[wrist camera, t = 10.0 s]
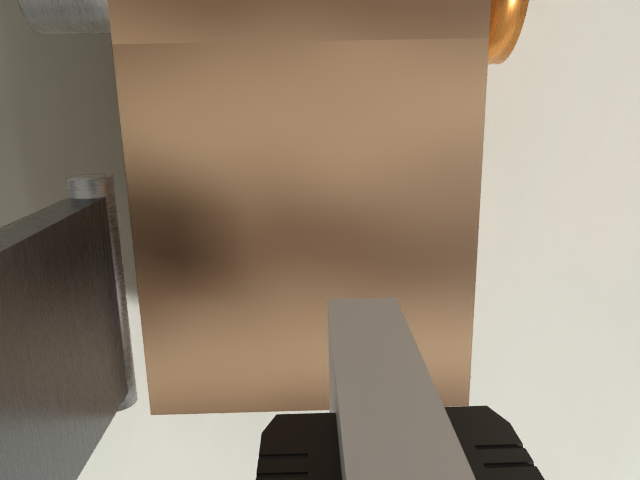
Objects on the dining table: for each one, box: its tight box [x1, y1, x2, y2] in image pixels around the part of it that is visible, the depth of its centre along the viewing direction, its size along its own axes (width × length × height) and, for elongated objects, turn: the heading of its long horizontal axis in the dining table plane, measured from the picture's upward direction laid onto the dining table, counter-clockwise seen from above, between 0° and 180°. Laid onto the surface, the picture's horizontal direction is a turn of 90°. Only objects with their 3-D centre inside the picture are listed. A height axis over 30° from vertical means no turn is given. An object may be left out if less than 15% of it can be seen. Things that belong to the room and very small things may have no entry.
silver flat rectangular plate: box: [0, 174, 137, 480], centre depth 11 cm, size 7×1×12 cm, turn 1°
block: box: [107, 0, 491, 415], centre depth 19 cm, size 18×10×8 cm, turn 1°
